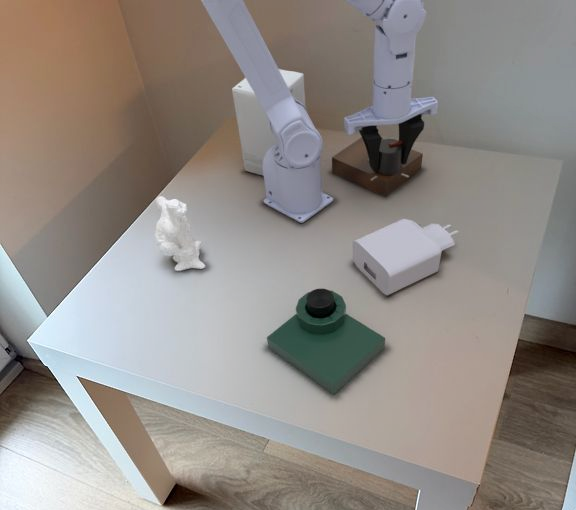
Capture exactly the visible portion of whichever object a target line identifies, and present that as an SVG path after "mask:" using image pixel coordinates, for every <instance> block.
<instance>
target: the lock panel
mask: <svg viewBox="0 0 576 510" xmlns="http://www.w3.org/2000/svg"><path fill="white" fill-rule="evenodd" d="M384 139H385V138H384V137H382V140H384ZM423 156H424V154H423V152H420V151H417V150H415V149H411V151H410V154H409V156H408V159H407V162H406V164H403V165H402V163H401V170H400V171H399V172H398V173H397V174H394V175H390V176H385V175H380V174H378V173H377V172H376V171H375V172H374V171H373V170H372V168H371V167H370V163H369V157H368V153H367V149H366V146H365V144H364V141H363V139H362V136H361V137H360V138H358V139H357V140H356V141H354V142H352V143H351V144H350V145H348V146H346V147H345V148H343V149H342V150H341V151H339V152H338V153H336V154H334V155H333V156H332V157H331V171H332V174H334V175H335V176H338V177H341V178H343V179H345V180H347V181H349V182H352V183H354V184H356V185H359V186H360V187H363V188H365V189H367V190H369V191H371V192H374V193H376V194H378V195H380V196H382V197H384V198H385V197H387V196H388V195H389V194H391V193H392V192H394V191H395V190H396V189H397V188H399V187H401V186H402V185H403V184H404V183H405V182H407V181H408V180H409V179H411V178H412V177H414V176H415V175H416V174H418V173H419V172H420V171H421V170H422V166H423V165H422V164H423Z"/></svg>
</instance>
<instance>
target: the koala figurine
mask: <svg viewBox="0 0 576 510" xmlns="http://www.w3.org/2000/svg"><path fill="white" fill-rule="evenodd" d="M155 206H156V207H157V209H158V210H159V211H161V214H160V218H159V219H158V221H157V222H156V226H155V231H154V239H155V242H156V247H157V249H158V251H159V252H160V253H161V254H162V255H163V256H165V257H172V259H173V260H174V262H176V263H177V264H176V265H175V266H174V270H175V271H177V272H180V271H185V270H188V269H199V270H203V269H204V268H206V264H204V262H202V261H201V260H200V258H199V257H200V249H201V245H202V242H201V241H200V240H198V239H197V240H194V238H193V235H192V233H191V229H192V228H191V225H190V223H189V222H188V218H187V213H188V210H189V209H188V207H187V203H185V202H182V201H180V200H178V198H172V199H167V198H166V197H164V196H161V195H160V196H157V197H156V199H155Z"/></svg>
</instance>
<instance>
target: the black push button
mask: <svg viewBox="0 0 576 510" xmlns="http://www.w3.org/2000/svg"><path fill="white" fill-rule="evenodd" d="M329 290H330V289H327V288H321V287H320V288H315V289H313V290H311V291H309V292H310V293H309V294H308V295H307V298H306V300H307V310H308V313H309V314H310V315H311V316H312V317H314V318H320V319H322V318H326V317H329V316H330V315H331V314H332V313H333V312H334V295H333V293H332V292H331V291H332V290H330V291H329Z"/></svg>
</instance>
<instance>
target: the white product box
mask: <svg viewBox="0 0 576 510" xmlns="http://www.w3.org/2000/svg"><path fill="white" fill-rule="evenodd" d="M278 69H279V71H280V73H281V75H282V77H283V79H284V81H285V83H286V84H287V86H288V88H289V90H290V92H291V94H292V96H293V97H294V98H295V99H296V100H298V101H299V102H301V103H302V104H303V105H304V106H305V108H306V94H305V75H304V73H302V72H298V71H292V70H286V69H281V68H278ZM231 90H232V97H233V104H234V110H235V116H236V122H237V129H238V135H239V140H240V141H239V142H240V147H241V154H242V159H243V166H244V171H245V172H249V173H251V174H256V175H259V176H262V177H264V175H263V160H264V157H265V155H266V153H267V151H268V150H269V149H270V148H271V147H272V146H274V145H276V144H277V141H276V138H275V136H274V134H273V133H272V131H271V129H270V125H269V118H268V116H267V114H266V112H265V110H264V109H263V107H262V105H261V104H260V102H259V100H258V98H257V97H256V95H255V93H254V91H253V90H252V88H251V86H250V84H249V83H248V81H247V79H246V78H245V77H244V78H243V79H242V80H241V81H240V82H238V84H236V85H235V86H233V87H232V88H231ZM306 109H307V108H306Z"/></svg>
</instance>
